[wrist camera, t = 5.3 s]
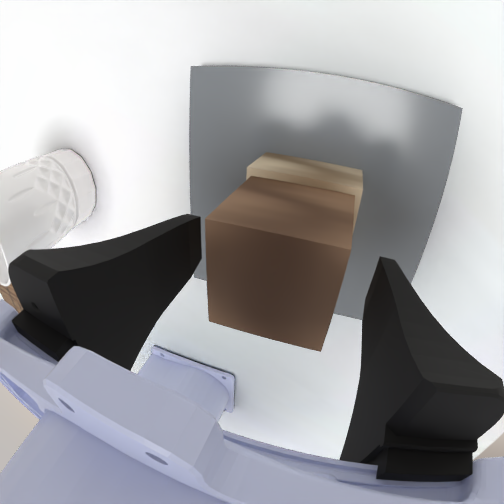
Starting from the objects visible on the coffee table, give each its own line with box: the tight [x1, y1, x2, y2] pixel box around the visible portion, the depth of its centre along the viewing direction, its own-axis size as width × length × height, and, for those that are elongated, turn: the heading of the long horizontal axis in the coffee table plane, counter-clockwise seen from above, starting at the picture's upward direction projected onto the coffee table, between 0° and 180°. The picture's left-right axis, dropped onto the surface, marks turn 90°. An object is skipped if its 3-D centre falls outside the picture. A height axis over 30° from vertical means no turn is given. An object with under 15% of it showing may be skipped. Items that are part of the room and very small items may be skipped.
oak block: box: [246, 152, 363, 231], centre depth 15 cm, size 5×5×3 cm
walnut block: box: [205, 176, 355, 352], centre depth 12 cm, size 4×4×4 cm
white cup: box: [0, 149, 96, 286], centre depth 19 cm, size 8×8×10 cm
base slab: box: [189, 66, 462, 320], centre depth 17 cm, size 14×14×1 cm
